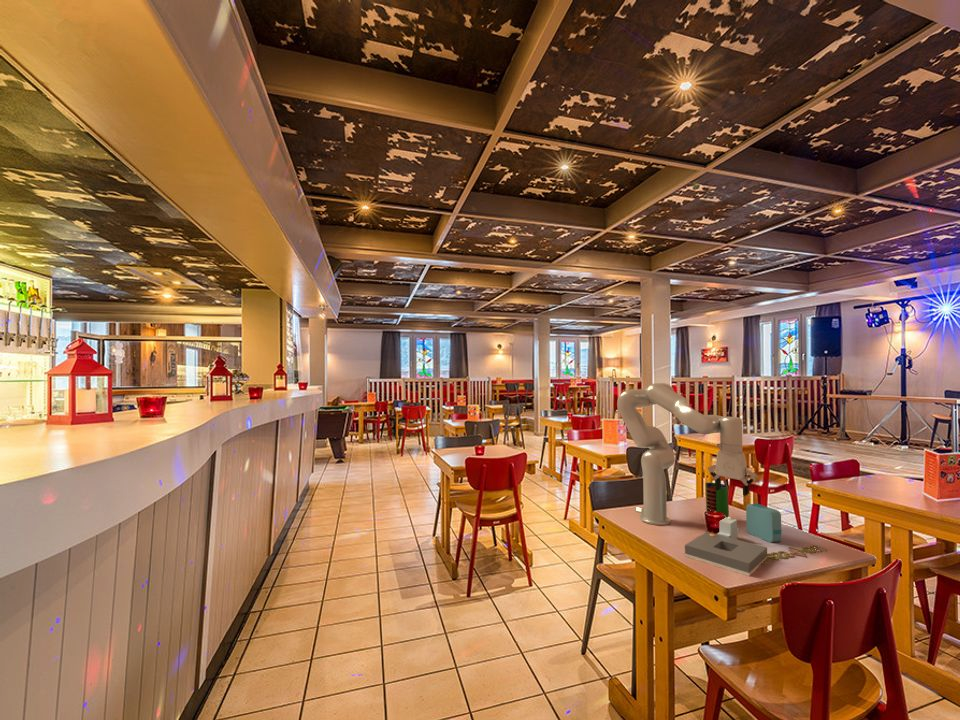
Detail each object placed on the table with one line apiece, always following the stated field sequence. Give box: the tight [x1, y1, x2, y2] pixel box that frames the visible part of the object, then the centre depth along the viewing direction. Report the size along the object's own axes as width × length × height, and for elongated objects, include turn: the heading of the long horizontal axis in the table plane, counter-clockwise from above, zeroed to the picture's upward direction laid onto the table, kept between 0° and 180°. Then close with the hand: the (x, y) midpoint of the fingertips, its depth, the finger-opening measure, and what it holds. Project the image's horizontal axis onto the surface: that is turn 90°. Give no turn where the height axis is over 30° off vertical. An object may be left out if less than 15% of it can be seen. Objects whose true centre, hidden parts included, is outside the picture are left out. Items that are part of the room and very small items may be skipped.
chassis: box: [684, 531, 768, 577], centre depth 150 cm, size 20×20×4 cm
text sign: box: [758, 544, 826, 568], centre depth 152 cm, size 40×1×8 cm
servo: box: [716, 516, 740, 540], centre depth 166 cm, size 4×12×9 cm, turn 132°
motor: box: [705, 477, 730, 518], centre depth 191 cm, size 10×9×20 cm
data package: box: [745, 503, 783, 543], centre depth 170 cm, size 12×4×12 cm, turn 14°
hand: (731, 492), depth 166 cm, fingers open, 9 cm apart
